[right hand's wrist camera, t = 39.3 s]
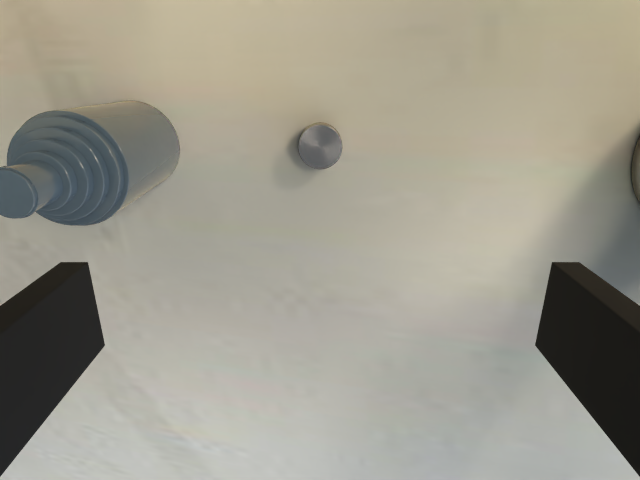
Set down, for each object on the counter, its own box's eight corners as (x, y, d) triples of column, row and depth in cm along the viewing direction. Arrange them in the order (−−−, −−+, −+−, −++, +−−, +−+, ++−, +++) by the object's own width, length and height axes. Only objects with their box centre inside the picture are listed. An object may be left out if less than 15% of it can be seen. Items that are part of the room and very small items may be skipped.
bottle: (177, 103, 41) (70, 124, 23) (182, 188, 43) (90, 264, 26) (88, 98, 40) (-86, 115, 23) (99, 184, 43) (-48, 257, 26)
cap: (320, 113, 41) (320, 115, 39) (349, 144, 42) (351, 147, 40) (290, 143, 42) (289, 146, 40) (319, 173, 43) (319, 178, 41)
